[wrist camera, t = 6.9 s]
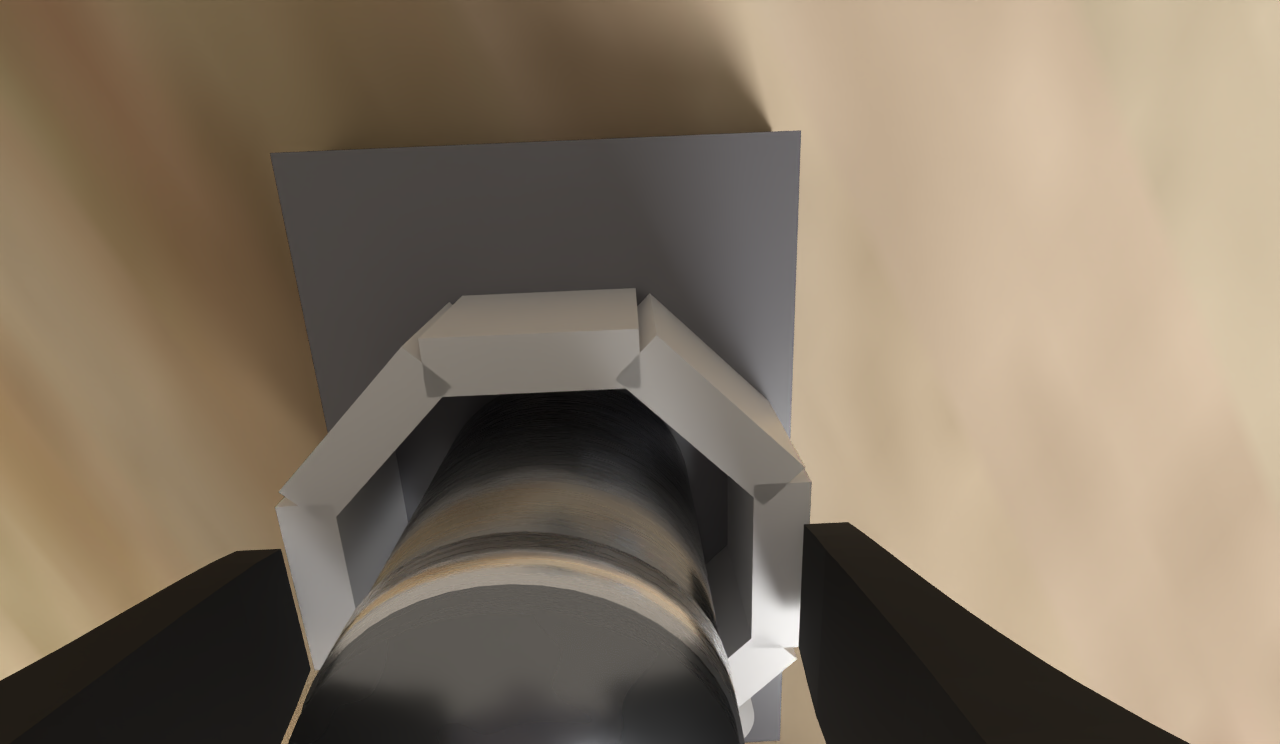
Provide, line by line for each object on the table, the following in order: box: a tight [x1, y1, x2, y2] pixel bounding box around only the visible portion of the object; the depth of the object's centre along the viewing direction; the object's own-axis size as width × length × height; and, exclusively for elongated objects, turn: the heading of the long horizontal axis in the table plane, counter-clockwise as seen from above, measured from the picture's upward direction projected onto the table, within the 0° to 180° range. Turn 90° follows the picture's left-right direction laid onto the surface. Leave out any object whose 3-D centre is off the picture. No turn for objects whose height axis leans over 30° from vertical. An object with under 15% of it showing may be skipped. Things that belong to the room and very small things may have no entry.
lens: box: [289, 389, 745, 744], centre depth 9 cm, size 4×4×6 cm
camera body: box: [270, 131, 812, 742], centre depth 12 cm, size 12×8×4 cm, turn 2°
